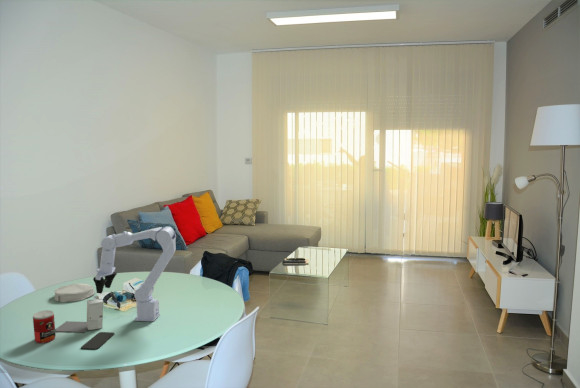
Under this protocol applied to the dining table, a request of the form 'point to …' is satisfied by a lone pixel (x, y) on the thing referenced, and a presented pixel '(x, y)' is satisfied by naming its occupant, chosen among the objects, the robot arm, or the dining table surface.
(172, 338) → the dining table surface
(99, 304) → the skincare box
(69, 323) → the mat
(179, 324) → the dining table surface
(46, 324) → the canned food
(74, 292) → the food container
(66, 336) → the dining table surface
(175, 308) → the dining table surface
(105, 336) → the phone
